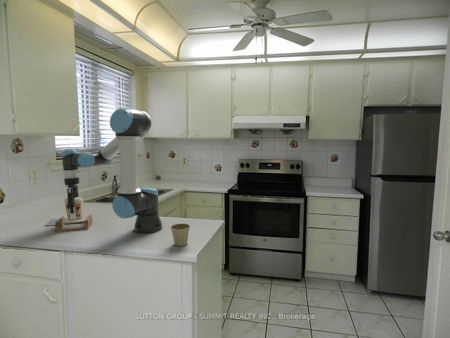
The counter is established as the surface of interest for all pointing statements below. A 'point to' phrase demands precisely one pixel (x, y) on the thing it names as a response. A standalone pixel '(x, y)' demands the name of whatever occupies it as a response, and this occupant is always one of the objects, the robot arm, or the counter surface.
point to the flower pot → (180, 234)
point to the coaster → (52, 221)
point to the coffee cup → (78, 208)
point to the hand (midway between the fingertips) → (75, 216)
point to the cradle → (61, 223)
